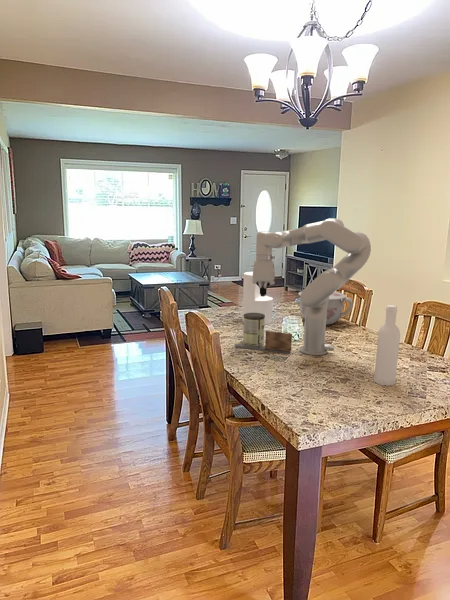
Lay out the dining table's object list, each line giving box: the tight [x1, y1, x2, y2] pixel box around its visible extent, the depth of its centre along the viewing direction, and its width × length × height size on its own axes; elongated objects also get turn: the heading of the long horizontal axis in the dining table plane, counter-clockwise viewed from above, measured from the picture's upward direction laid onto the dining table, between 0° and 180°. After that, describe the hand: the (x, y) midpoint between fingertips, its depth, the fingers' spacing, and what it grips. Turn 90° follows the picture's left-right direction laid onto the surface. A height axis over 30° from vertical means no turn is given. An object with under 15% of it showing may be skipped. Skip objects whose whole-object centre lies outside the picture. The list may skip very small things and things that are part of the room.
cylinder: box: [241, 271, 274, 326], centre depth 259 cm, size 17×17×28 cm
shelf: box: [264, 330, 293, 353], centre depth 206 cm, size 12×3×8 cm, turn 71°
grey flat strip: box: [235, 343, 291, 355], centre depth 209 cm, size 26×4×1 cm, turn 71°
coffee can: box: [242, 313, 265, 346], centre depth 218 cm, size 10×10×14 cm
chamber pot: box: [297, 290, 354, 326], centre depth 260 cm, size 28×28×21 cm
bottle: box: [373, 304, 401, 387], centre depth 169 cm, size 8×8×30 cm
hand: (262, 295), depth 216 cm, fingers closed
